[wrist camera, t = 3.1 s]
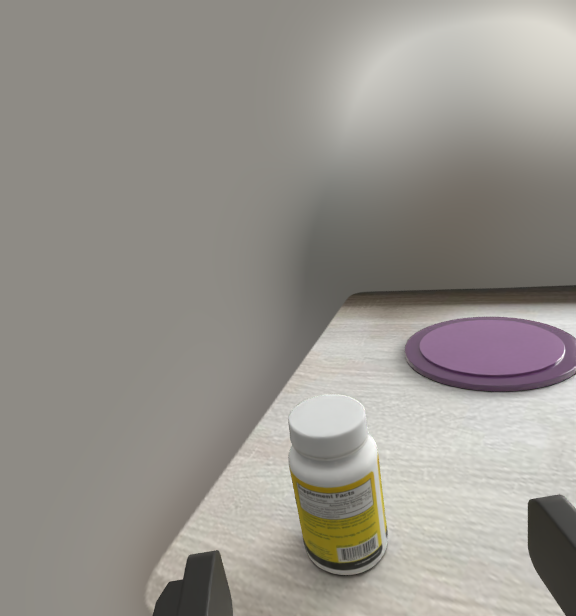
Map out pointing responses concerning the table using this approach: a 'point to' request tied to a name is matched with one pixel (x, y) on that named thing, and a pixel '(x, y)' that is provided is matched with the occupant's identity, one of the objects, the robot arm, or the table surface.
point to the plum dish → (493, 354)
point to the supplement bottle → (337, 484)
